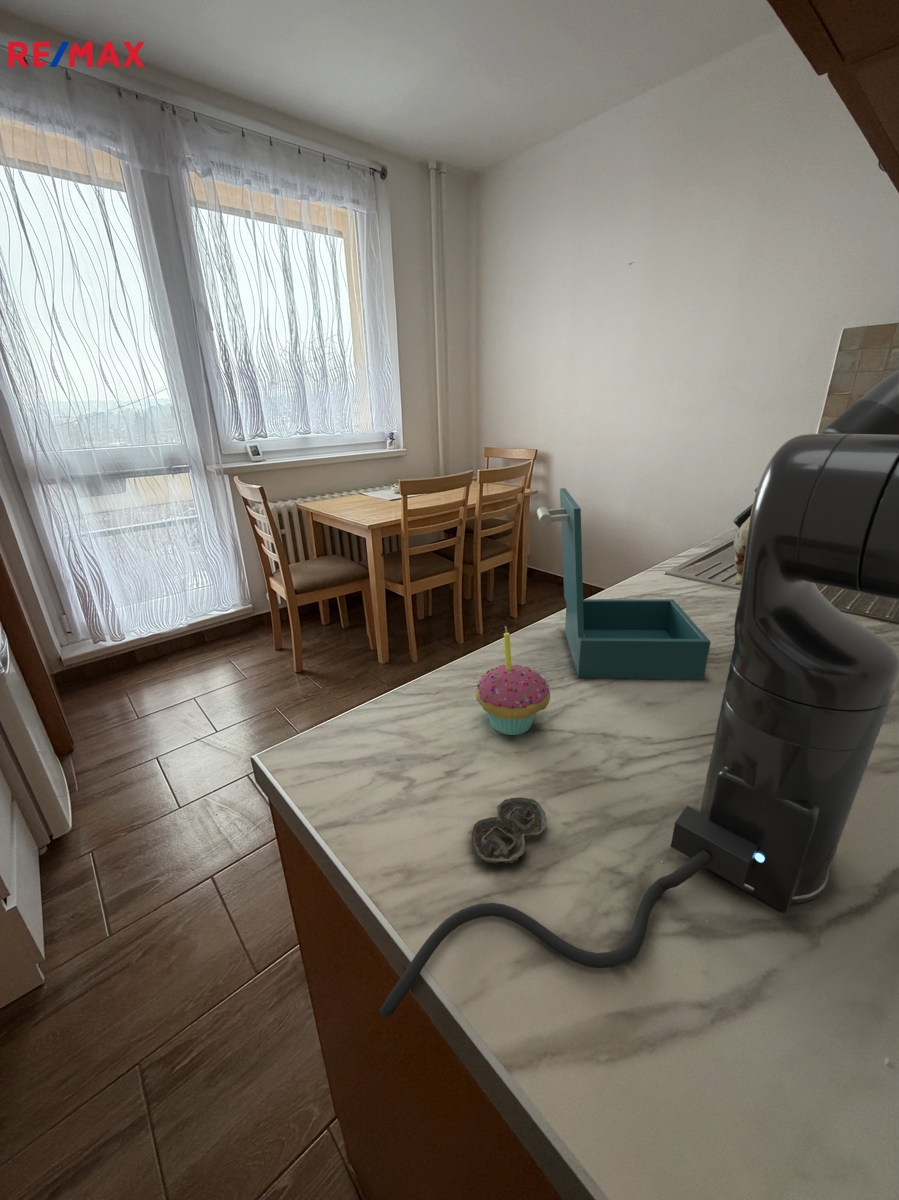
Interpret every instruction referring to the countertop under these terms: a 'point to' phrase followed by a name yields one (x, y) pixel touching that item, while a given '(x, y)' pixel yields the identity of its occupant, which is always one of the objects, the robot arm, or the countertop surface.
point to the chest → (637, 640)
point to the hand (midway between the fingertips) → (749, 532)
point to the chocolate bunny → (740, 549)
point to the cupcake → (512, 695)
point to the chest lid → (569, 553)
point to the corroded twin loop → (508, 830)
